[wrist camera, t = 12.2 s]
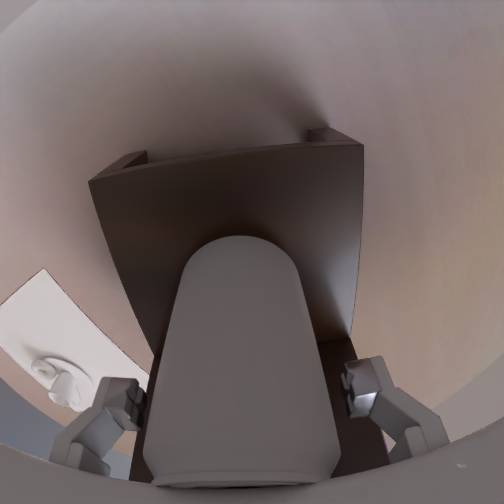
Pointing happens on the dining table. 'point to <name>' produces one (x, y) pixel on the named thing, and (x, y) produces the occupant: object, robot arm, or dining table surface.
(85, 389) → the teacup and saucer
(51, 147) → the dining table surface
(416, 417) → the robot arm
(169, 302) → the wooden doll chair
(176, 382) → the beverage can
